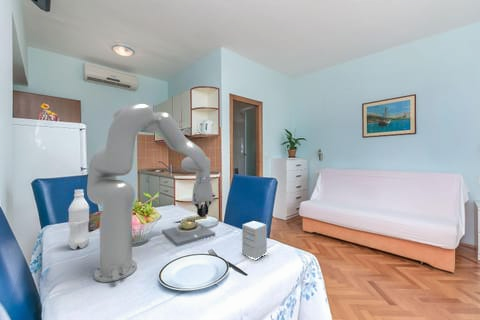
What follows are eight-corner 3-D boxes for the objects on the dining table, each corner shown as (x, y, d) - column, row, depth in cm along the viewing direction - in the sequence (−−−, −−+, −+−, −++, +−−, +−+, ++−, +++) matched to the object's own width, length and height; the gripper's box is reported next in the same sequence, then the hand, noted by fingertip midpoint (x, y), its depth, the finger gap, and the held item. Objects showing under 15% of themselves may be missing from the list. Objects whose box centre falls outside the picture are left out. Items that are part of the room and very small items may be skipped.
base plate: (215, 235, 103) (215, 228, 103) (176, 246, 91) (176, 238, 91) (197, 225, 119) (197, 219, 119) (162, 232, 107) (162, 226, 107)
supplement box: (253, 249, 89) (253, 220, 89) (267, 255, 84) (267, 224, 83) (241, 254, 84) (241, 224, 83) (255, 261, 78) (255, 228, 78)
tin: (90, 232, 107) (90, 216, 107) (84, 232, 107) (84, 216, 107) (108, 223, 122) (108, 209, 122) (103, 223, 122) (103, 209, 122)
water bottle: (67, 247, 89) (67, 189, 89) (87, 242, 95) (87, 188, 94) (70, 252, 85) (69, 191, 84) (91, 246, 90) (91, 189, 89)
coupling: (203, 225, 113) (203, 203, 113) (208, 229, 107) (208, 205, 107) (177, 230, 105) (177, 206, 105) (181, 234, 100) (181, 209, 99)
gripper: (212, 179, 117) (212, 211, 118) (185, 180, 107) (185, 215, 107) (219, 180, 111) (219, 213, 112) (191, 182, 101) (191, 219, 102)
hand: (202, 214), depth 110 cm, fingers closed on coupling, 3 cm apart
